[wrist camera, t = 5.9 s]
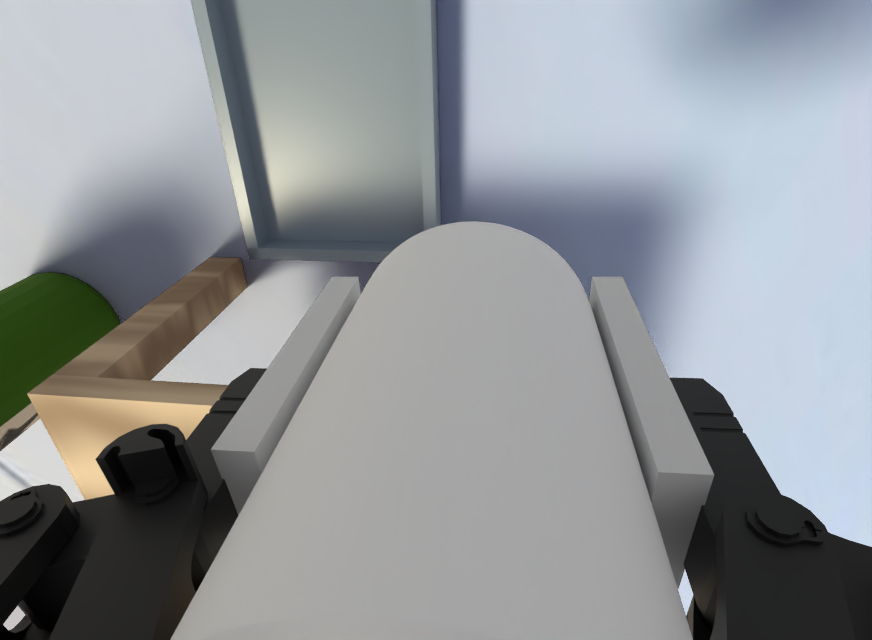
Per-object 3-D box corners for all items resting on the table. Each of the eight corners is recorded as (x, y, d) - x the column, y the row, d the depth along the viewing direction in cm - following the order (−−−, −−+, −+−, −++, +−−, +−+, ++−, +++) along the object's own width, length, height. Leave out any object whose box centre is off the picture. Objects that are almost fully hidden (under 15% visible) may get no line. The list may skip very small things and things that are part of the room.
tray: (200, -63, 27) (174, -71, 25) (434, -77, 26) (428, -87, 24) (264, 245, 36) (249, 258, 34) (441, 249, 35) (437, 264, 32)
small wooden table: (210, 256, 37) (26, 393, 23) (506, 264, 35) (504, 424, 20) (258, 437, 46) (147, 615, 32) (497, 454, 43) (491, 658, 29)
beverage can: (591, 394, 15) (773, 1188, 5) (393, 406, 16) (198, 1060, 6) (584, 191, 12) (1037, 1159, 2) (343, 225, 13) (-225, 911, 3)
